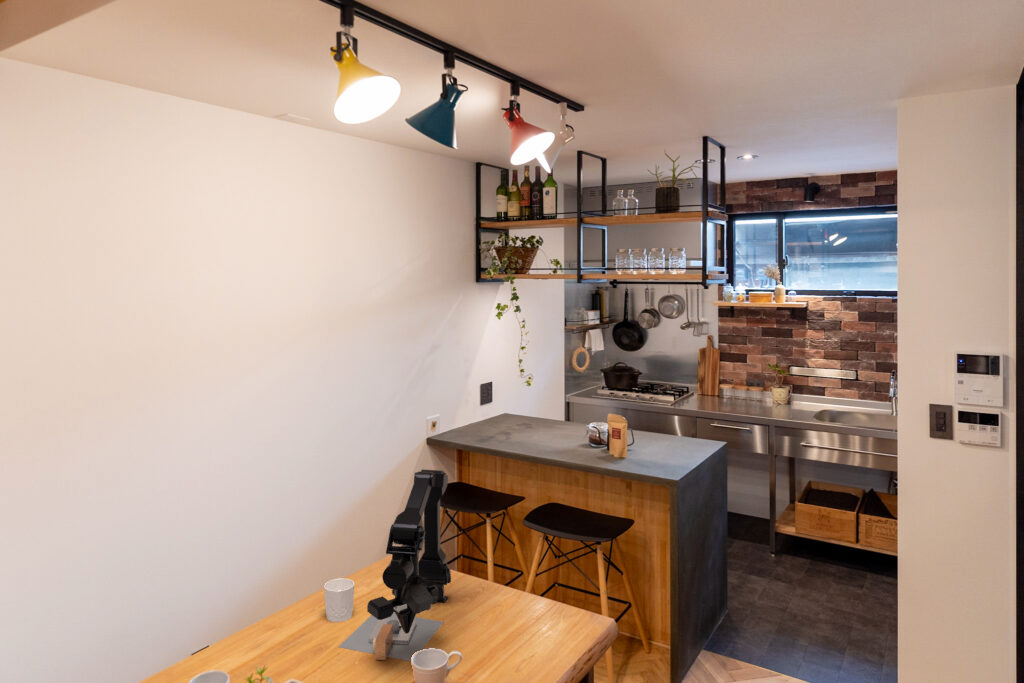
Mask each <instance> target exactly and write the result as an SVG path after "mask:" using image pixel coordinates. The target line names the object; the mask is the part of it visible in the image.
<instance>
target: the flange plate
mask: <svg viewBox="0 0 1024 683" xmlns="http://www.w3.org/2000/svg"><path fill="white" fill-rule="evenodd" d="M388 621H390V620H389V619H382V620H378V622H377V624H376V625H375V627H374V629H373V631H372V633H371V635H370V637H369V642H371V643H373V640H374V639H376V640H375V654H374V655H375V661H386V660H387V658H388V657H387V656H388V653H389V651H390V649H391V647H392V645H393V644H406V645H408V643H409V641H410V638H411V636H412V634H413V631H414V629H415V626H416V621H413V623H412V626H411V629H410V631H409V633H407V634H406V633H404V631H403V629H402V626H401V624H400V622H399V630H400V633H399V634H393V625H391V624H387V622H388ZM397 621H399V620H397Z"/></svg>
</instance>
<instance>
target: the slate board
mask: <svg viewBox="0 0 1024 683" xmlns="http://www.w3.org/2000/svg"><path fill="white" fill-rule="evenodd" d="M385 619H389V620H390V621H388V622H387V624H391V625H393V634H399V633H400V630H399V621H397V620H398V617H397V615H396V614H395V612H394V613H393V614H392V616H391V617H388V618H385ZM413 621H416V626H415V629H414V631H413V634H412V636H411V638H410V641H409V643H408V645H406V644H393V645H392V647H391V649H390V651H389V653H388V656H387V658H392V659H397V660H402V661H408V662H411V657H412V655H413V654H414V653H415V652H417V651H419V650H421V649H424V648H425V647H426V645H427V644H428V642H430V640H431V639H432V638H433V636H434V635H435V634H436V632H437V631H439V629H440V628H441V627H442V625H443V624H444V622H445V621H441V620H435V619H430V618H424V617H417V616H415V618H414V620H413ZM377 622H378V619H377V618H375V617H374V616H373V615H371V614H370V616H369V617H368V618H367V619H366V620H365V621H364V622H362V623H361V624H360V625H359V626H358V627H357V628H356V629H355V630H354V631H353V632H352V633H351V634H350V635H349V636H348V637H347V638H346V639H345V640H344V641H342V643H340V644H339V645H338V648H341V649H345V650H350V651H357V652H361V653H364V654H365V653H366V654H372V655H375V640H376V639H374V640H373V643H371V642H369V637H370V635H371V633H372V631H373V629H374V627H375V625H376V624H377ZM421 651H422V650H421Z"/></svg>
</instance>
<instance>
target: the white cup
mask: <svg viewBox="0 0 1024 683" xmlns="http://www.w3.org/2000/svg"><path fill="white" fill-rule="evenodd" d="M323 590H324V605H325V606H324V607H325V614H326V615H325V616H326V619H327V620H328V622H333V623H343V622H346V621H348V620H350V619H351V618H352V617H353V609H354V599H355V598H354V597H355V596H354V595H355V581H354V580H352V579H350V578H345V577H344V578H343V577H341V578H334V579H333V578H332V579H331V580H327V582H325V584H324V586H323Z"/></svg>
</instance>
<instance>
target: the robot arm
mask: <svg viewBox="0 0 1024 683" xmlns="http://www.w3.org/2000/svg"><path fill="white" fill-rule="evenodd" d="M413 476H414V477H413V484H412V487H411V490H410V494H409V496H408V499H407V503H406V505H405V507H404V509H403V511H402V512H400V513H398V514H397V516H395V517H396V518H395V520H394V521H393V523H392V524H391V527H390V530H389V533H388V534H389V535H388V540H387V545H386V550H385V554H386V555H391V560H390V562H389V564H388V565H387V566H386V568H385V569H384V571H383V573H382V581H383V585H385V586H386V588H388V589H390V590H391V594H392V595H393V596H394V598H391V599H387V598H385V597H384V596H379V597H377V598H376V597H375V598H373V599H370V600H369V601H368V603H367V604H366V605H367V606H366V607H367V608H366V611H367V613H369V614H370V616H371V615H373V616H374V617H375V618H377V619H378V620H382V619H385V618H388V617H391V616H392V614H393V613H395V614H396V615H397V617H398V620H399V622H400V624H401V626H402V629H403V631H404V633H406V634H407V633H409V631H410V629H411V626H412V623H413V620H414V618H415V617H416V616H417V615H418V614H421V612H422V613H423V612H424V611H430V609H431V606H432V605H434V604H437V603H441V604H445V603H446V602H447V601H448V599H449V596H447V595H445V586H448V584H451V582H452V571H451V569H450V565H449V563H447V554H446V553H445V552H444V550H443V549H442V547H441V499H442V496H443V495H444V494H445V492H446V489H447V488H448V483H449V476H448V474H447V473H446V472H445V471H444V470H440V469H439V470H438V469H424V468H423V469H421V470H420V471H417V472H416V471H415V472H414V475H413ZM422 518H423V519H422ZM423 547H424V548H423ZM423 550H424V551H423ZM421 551H423V552H422V555H421V556H419V555H420V552H421ZM419 557H420V558H419Z"/></svg>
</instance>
